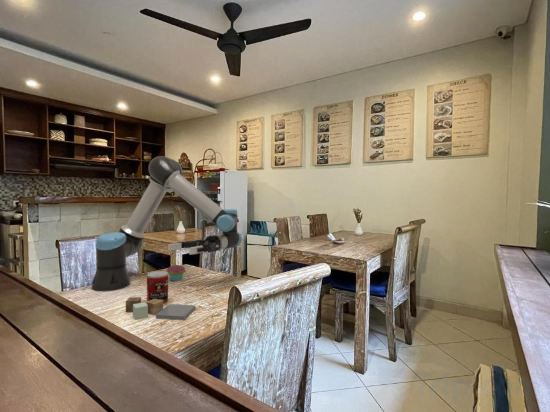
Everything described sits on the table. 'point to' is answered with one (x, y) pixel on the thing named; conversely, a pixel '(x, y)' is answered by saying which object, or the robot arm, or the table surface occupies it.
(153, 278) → the canned food
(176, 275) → the cupcake
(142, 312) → the sage painted block
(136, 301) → the walnut block
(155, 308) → the teak block
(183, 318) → the plate
